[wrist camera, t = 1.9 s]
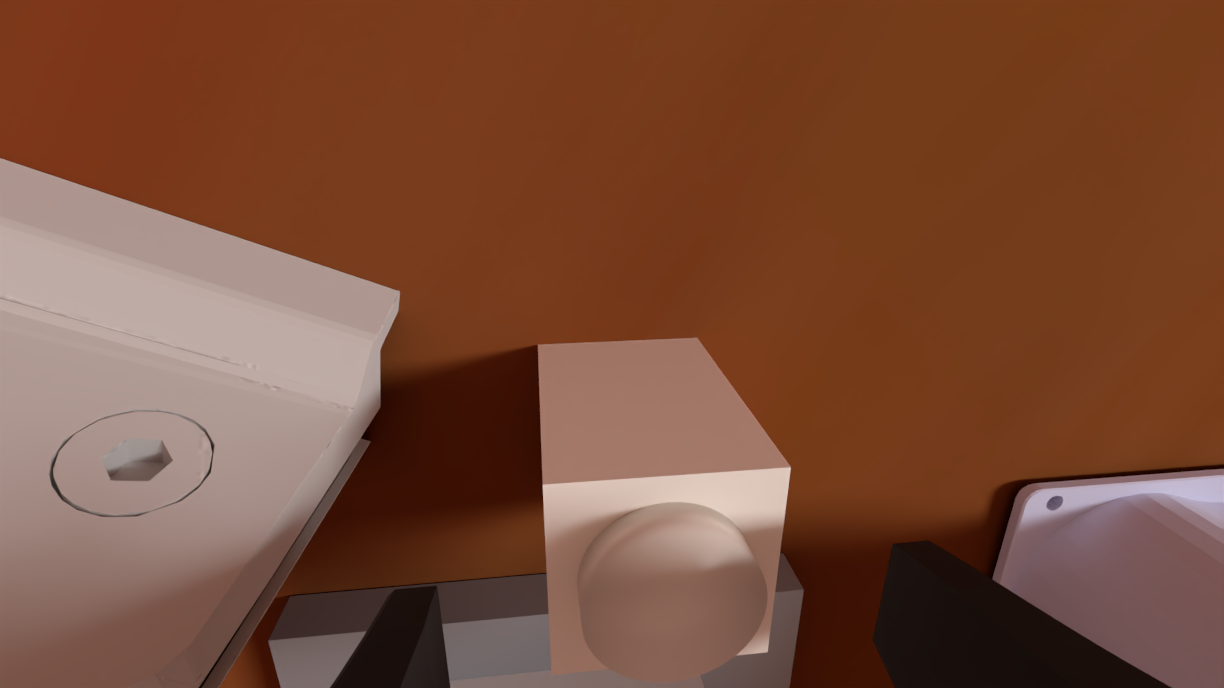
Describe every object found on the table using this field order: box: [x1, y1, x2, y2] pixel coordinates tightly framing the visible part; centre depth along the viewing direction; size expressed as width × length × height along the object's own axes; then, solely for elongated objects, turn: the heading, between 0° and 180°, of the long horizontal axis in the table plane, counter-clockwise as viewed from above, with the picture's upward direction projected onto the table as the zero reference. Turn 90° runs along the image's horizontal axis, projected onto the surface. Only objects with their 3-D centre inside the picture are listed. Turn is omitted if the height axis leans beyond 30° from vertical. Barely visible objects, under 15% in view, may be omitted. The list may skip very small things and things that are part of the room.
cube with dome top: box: [538, 338, 791, 682], centre depth 13 cm, size 4×4×7 cm
